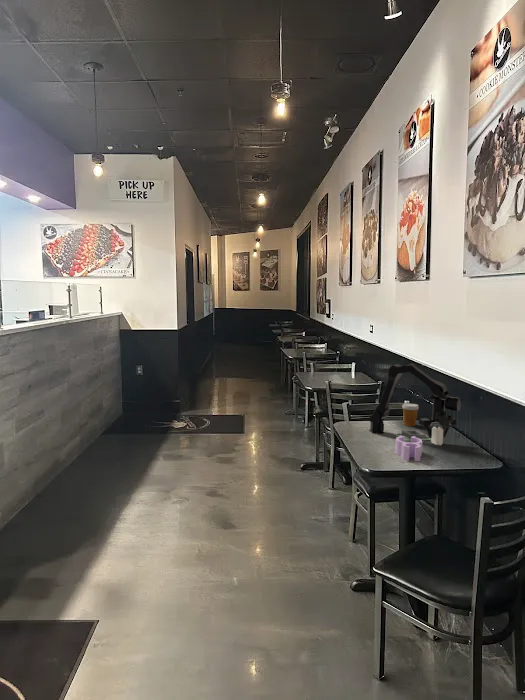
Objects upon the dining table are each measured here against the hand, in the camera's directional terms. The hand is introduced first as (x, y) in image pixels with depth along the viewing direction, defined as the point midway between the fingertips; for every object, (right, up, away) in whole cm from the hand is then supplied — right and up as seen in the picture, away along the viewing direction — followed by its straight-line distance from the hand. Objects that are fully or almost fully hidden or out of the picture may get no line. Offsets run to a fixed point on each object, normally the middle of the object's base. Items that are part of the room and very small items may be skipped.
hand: (437, 437), depth 279 cm
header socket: (-9, -2, +11) cm, 14 cm away
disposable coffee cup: (-4, +1, +38) cm, 38 cm away
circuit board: (-9, -2, +11) cm, 14 cm away
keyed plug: (0, -3, 0) cm, 3 cm away
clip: (-20, -5, -20) cm, 29 cm away
